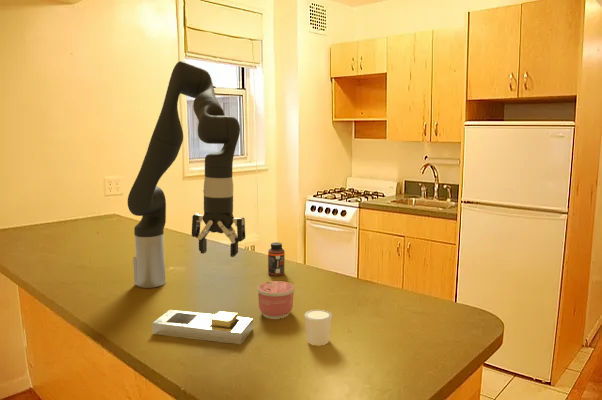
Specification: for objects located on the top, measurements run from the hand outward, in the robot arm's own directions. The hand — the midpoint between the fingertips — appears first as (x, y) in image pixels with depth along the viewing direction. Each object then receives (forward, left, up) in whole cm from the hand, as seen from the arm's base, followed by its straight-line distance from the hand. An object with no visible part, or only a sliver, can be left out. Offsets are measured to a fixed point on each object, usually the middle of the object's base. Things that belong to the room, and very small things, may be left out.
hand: (218, 254), depth 122 cm
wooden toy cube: (+4, -5, -20) cm, 21 cm away
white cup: (+28, -3, -20) cm, 34 cm away
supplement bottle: (+3, +46, -20) cm, 50 cm away
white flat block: (-2, -5, -19) cm, 20 cm away
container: (+13, +11, -20) cm, 26 cm away
